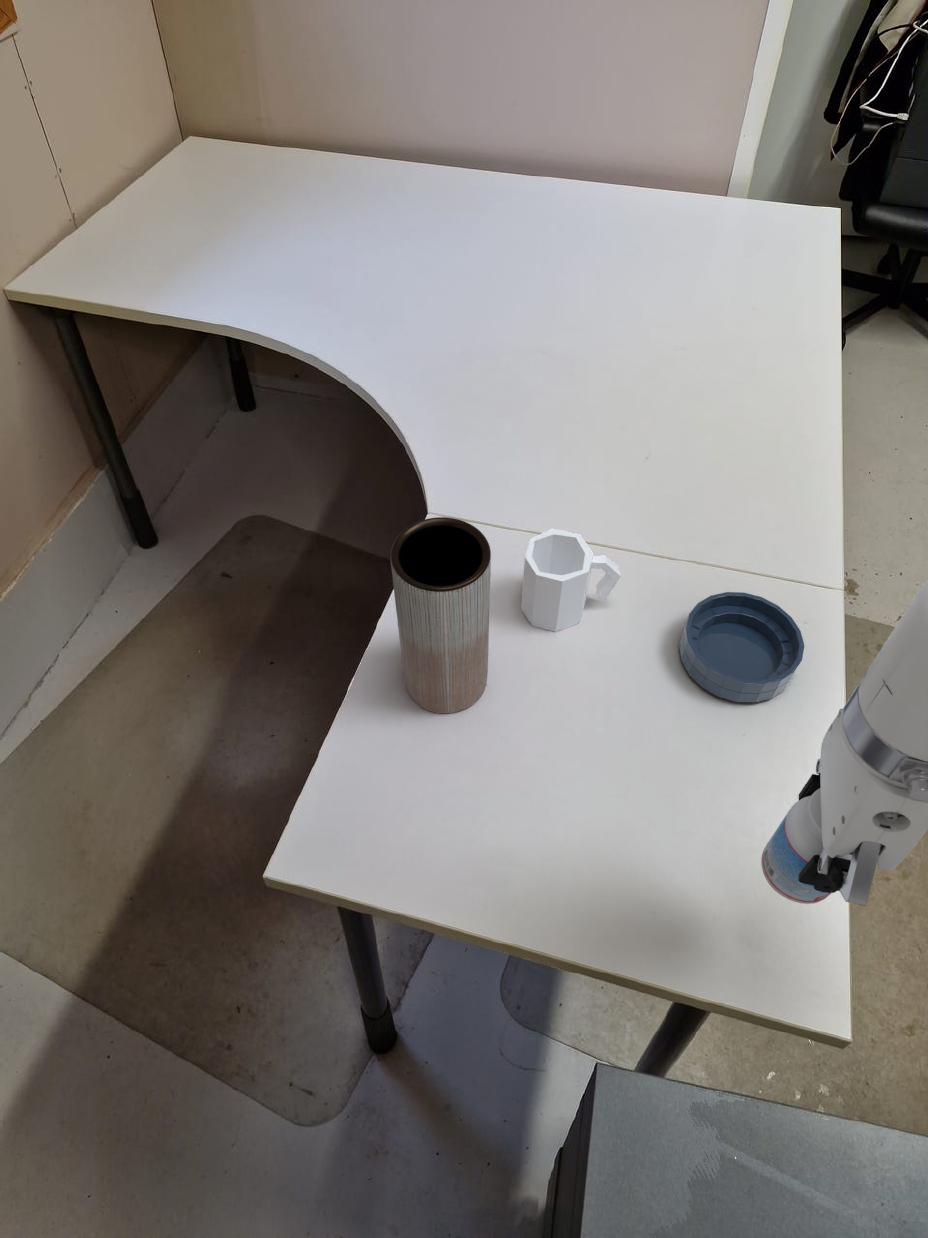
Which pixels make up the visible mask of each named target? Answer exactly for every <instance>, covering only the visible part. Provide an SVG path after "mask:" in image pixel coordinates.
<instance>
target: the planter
mask: <svg viewBox="0 0 928 1238" xmlns="http://www.w3.org/2000/svg"><path fill="white" fill-rule="evenodd" d="M389 557H390V567H391V578H392V585H393V595H394V602H395V611H396V619H397V620H396V621H397V628H398V638H399V646H400V655H401V663H402V664H401V665H402V673H403V680H404V685H405V689H406V691H407V693H408V695H409V697H410V699H412V701H413V702H414V703H415V704H417V705H418V706H419V707H421V708H423V709H425V710H427V711H428V712H429V711H430V712H432V713H437V714H453V713H458V712H461V711H464V710H466V709H468V708H470V707H472V706H473V705H474V704H476V703H477V702H478V700H479V699H481V697H482V696H483V694H484V692H485V690H486V687H487V683H488V674H489V672H488V670H489V644H490V643H489V641H490V639H489V637H490V610H491V609H490V601H491V571H492V569H491V568H492V550H491V546H490V543H489V541H488V539H487V538H486V536H485V535H484V533H483V532H482V531H480V530H479V529H478V528H477V527H476V526H474V525H473V524H471V523H469V522H467V521H464V520H462V519H458V518H453V517H447V516H446V517H445V516H443V517H442V516H438V517H430V518H425V519H421V520H418V521H417V522H414V523H412V524H410V525H409V526H407V527H405V528H404V529H403V530H402V531H401V532H400V533H399V534H398V535H397V536H396V538H395V540H394V541H393V543H392V546H391V548H390V555H389Z"/></svg>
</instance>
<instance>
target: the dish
mask: <svg viewBox="0 0 928 1238" xmlns="http://www.w3.org/2000/svg"><path fill="white" fill-rule="evenodd" d="M804 650H805V642H804V639H803V635H802V631H801V629H800V627H799V626H798V624H797V623H796V621H795V620H794V618H793V617H792V616H791V615H789V613H787V611H786V610H784V609H783V608H782V607H780V606H779V605H778V604H776V603H774V602H772V601H771V600H768V599H766V598H765V597H762V596H760V595H755V594H751V593H748V592H741V591H740V592H739V591H725V592H721V593H717V594H716V593H715V594H712V595H709V596H708V597H706V598H704V599H702V600H701V601H699V602H697V603H696V604H695V606H694V607H693V608H692V610H691V611H690V612H689V614H688V616H687V619H686V622H685V625H684V627H683V631H682V634H681V638H680V641H679V655H680V660H681V662H682V664H683V666H684V668H685V670H686V672H687V673H688V675H689V676H690V677H691V678H692V679H693V680H694V681H695V682H696V683H697V684H698V685H699V686H700V687H701V689H704V690H706V691H708V692H709V693H711V694H712V695H714V696H716V697H718V698H721V699H724V700H728V701H730V702H731V701H732V702H735V703H758V702H763V701H767V700H770V699H773V698H774V697H776V696H778V695H779V694H780V693H782V692H783V691H785V690H786V688H787V686H788V685H789V683H790V682H791V680H793V677H794V676H795V674H796V672H797V670H798V669H799V666H800V665H801V663H802V661H803V659H804V658H803V657H804Z"/></svg>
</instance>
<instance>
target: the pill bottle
mask: <svg viewBox="0 0 928 1238" xmlns="http://www.w3.org/2000/svg"><path fill="white" fill-rule="evenodd" d="M822 850H823V842H822V825H821V788H820V789H818V790H816V791H815V792H814V793H813V794H812V796H807V797H805V798H802V799H801V800H799V799H798V801H796V802H795V803H794V804H793V805H792V806H791V808H790V809H789V810H788V811H787V813H786V815H785V816H784V818H783V819H782V820H781V822H780V823H779V824H778V827H777V828H776V830H775V831H774V833H773V834H772V836H771V837H770V839H769V840H768V841H767V843H766V845H765V846H764V848H763V850H762V853H761V859H760V864H761V870H762V874H763V876H764V878H765V880H766V883H768V885H769V886H770V887H771V889H772V890H773V891H775V893H777V894H778V895H780V897H783V898H785V899H787V900H789V901H792V902H795V903H799V904H805V905H812V904H818V903H820V902H822V901H824V900H825V899H826V898H828V897H829V896H830V895H831V894H832V893H825V892H821V891H817V890H815V889H814V886H813V885H808V884H804V883H801V882H799V873H800V872H801V871H802V870H803V868H804V867H805V866H806V865H807V863H808V862H809V861H810V860H811V858H812V857H813V856H814V855H821V852H822ZM836 857H838V858H843V859H848V860H851V858H852V855H850V854H847V855H844V856H839V855H837V856H836Z"/></svg>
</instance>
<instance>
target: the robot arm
mask: <svg viewBox="0 0 928 1238" xmlns="http://www.w3.org/2000/svg"><path fill="white" fill-rule="evenodd" d="M819 757H820V758H818V759H817V761H816V763H815V764H816V765H815V773H812V774H811V775H810V777H809V778H808V780H807V781H806V783H805V784H804V786H803V788H802V789H801V790H800V792H799V794H798V801H799V800H801V799H802V798H805V797H807V796H812V794H813V793H814V792H815V791H816V790H818V789H820V788H821V825H822V842H823V850H822V852H821V855H814V856H813V857H812V858H811V860H810V861H809V862H808V863H807V865H806V866H805V867H804V868H803V870H802V871H801V872H800V873H799V882H801V883H804V884H808V885H813V886H814V889H815V890H817V891H821V892H825V893H831V894H833V893H836V892H839V893H840V895H841V897H842V898H843V900H844V901H845V902H847V903H851V904H853V905H858V906H863V907H866V906H867V905H868V901H869V898H870V895H871V894H870V893H871V889H872V885H873V880H874V876H875V873H876V868H877V869H878V870H881V871H882V870H883V871H888V872H889V871H890V872H891V871H893V870H894V869H896V868H897V867H898V866H899V865H901V863H902V862H903V861H904V860H905V859H906V858H907V857H908V856H909V855H910V854H911V852H912V851H913V850H914V848H915V847H916V846H917V844H918V843H920V841H921V839H922V838H923V837H924V835H925V834H926V833H927V831H928V578H927V579H926V581H924V583H923V584H922V585H921V586H920V588H919V590H918V591H917V593H916V594H915V595H914V597H913V598H912V600H911V602H910V603H909V605H908V606H907V608H906V610H905V611H904V612H903V614H902V616H901V617H900V619H899V621H897V623H896V625H895V626H894V628H893V629H892V631H891V633H890V634H889V636H888V637H887V639H886V640H885V642H884V644H883V646H882V647H881V648H880V650H879V651H878V653H877V654H876V656H875V658H874V659H873V661H872V662H871V664H870V666H869V667H868V669H867V670H866V672H865V673H864V675H863V677H862V678H861V680H860V681H859V683H858V684H857V686H856V687H855V689H854V690H853V692H852V693H851V695H850V697H849V698H848V700H847V701H846V703H845V705H844V706H843V708H840V709H839V710H838V713H837V715H836V716H835V718H834V719H833V720H832V723H831V724H830V726H829V727H828V729H827V731H826V733H825V734H824V737H823V738H822V742H821V746H820V756H819ZM847 854H850V855H852V858H851V860H848V859H843V858H838V857H836V856H837V855H839V856H844V855H847Z"/></svg>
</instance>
